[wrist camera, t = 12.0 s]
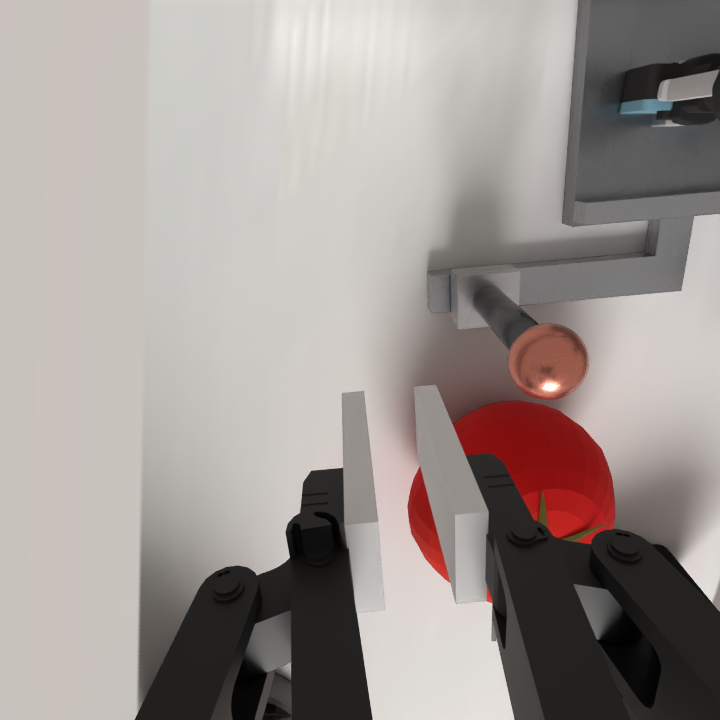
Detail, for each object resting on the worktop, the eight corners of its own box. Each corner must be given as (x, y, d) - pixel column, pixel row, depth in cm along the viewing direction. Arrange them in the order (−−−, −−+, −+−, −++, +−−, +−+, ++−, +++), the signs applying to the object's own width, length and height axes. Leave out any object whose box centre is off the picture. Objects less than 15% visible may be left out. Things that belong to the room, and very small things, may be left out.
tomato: (602, 417, 37) (701, 519, 27) (499, 542, 41) (552, 670, 31) (468, 346, 35) (523, 430, 24) (373, 487, 39) (386, 608, 29)
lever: (451, 319, 32) (515, 417, 21) (450, 269, 31) (518, 343, 19) (507, 313, 32) (604, 408, 21) (509, 263, 31) (612, 335, 19)
